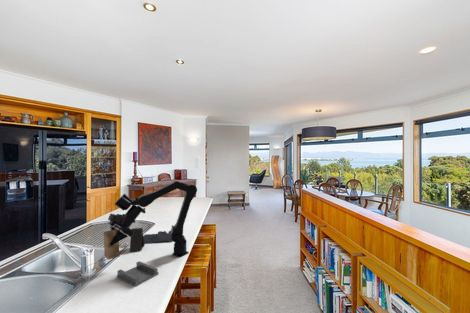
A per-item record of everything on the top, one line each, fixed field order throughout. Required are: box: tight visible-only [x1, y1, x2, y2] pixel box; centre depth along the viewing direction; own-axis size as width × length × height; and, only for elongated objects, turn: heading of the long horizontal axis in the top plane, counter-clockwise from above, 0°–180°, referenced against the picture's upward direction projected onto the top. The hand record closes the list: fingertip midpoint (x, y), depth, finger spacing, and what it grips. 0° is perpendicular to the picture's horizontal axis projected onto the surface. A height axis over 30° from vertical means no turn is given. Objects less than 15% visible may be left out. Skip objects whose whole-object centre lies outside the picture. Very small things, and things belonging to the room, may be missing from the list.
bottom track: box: [116, 261, 159, 287], centre depth 107 cm, size 12×14×3 cm
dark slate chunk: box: [143, 230, 173, 245], centre depth 154 cm, size 15×22×5 cm
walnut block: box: [103, 229, 120, 260], centre depth 113 cm, size 5×5×12 cm
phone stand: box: [129, 227, 146, 253], centre depth 139 cm, size 9×6×12 cm, turn 6°
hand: (108, 243), depth 112 cm, fingers closed on walnut block, 5 cm apart
